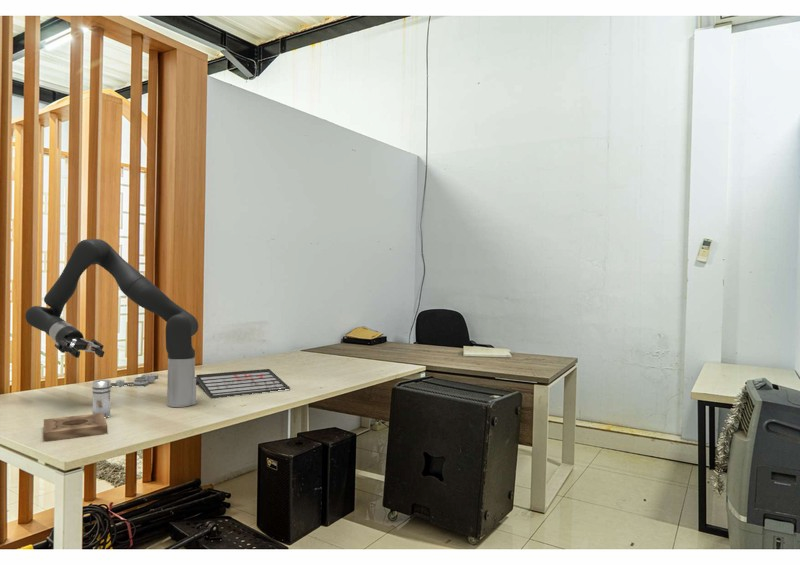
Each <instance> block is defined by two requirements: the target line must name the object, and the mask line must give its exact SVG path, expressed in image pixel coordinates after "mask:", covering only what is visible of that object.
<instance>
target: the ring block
mask: <svg viewBox="0 0 800 565" xmlns="http://www.w3.org/2000/svg"><path fill="white" fill-rule="evenodd" d="M103 433H107V434H108V423H107V420H106V418H104V415H103V413H97V414H92V413H90V414H82V415H81V414H80V415H72V416H63V417H54V418H52V417H51V418H45V419H43V442H44V441H45V442H50V441H52V440H53V441H60V440H59V439H61V440H66V439H67V438H68V439H75V438H74V437H76V438H82V436H84V437H90V436H89V435H92V436H97V434H99V435H104V434H103Z"/></svg>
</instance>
